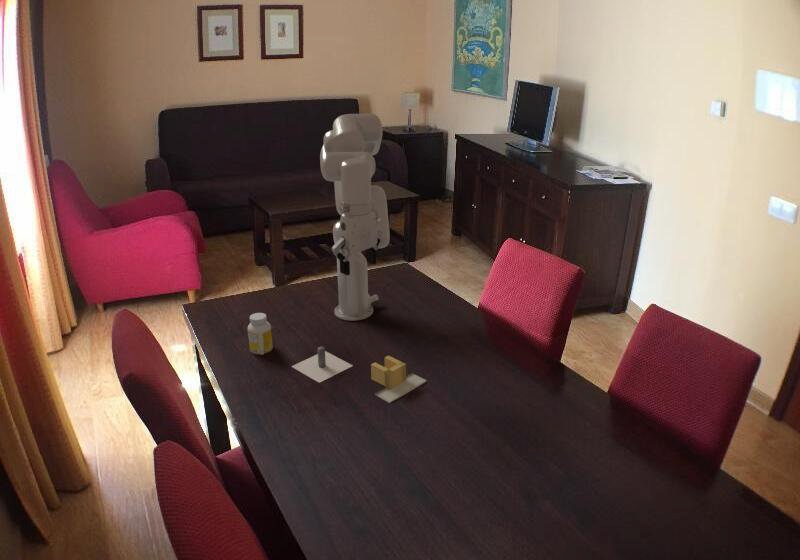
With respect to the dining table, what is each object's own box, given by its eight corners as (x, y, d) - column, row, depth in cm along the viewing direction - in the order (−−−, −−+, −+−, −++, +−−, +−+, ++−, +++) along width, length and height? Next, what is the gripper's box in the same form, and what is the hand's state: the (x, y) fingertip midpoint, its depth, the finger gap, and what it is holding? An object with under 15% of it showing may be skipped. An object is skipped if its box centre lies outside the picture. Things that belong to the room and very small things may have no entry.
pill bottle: (275, 347, 188) (272, 311, 184) (269, 358, 182) (266, 321, 178) (254, 346, 189) (250, 310, 184) (247, 357, 183) (243, 320, 178)
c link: (405, 380, 171) (406, 364, 169) (388, 390, 166) (388, 373, 164) (388, 371, 175) (388, 355, 173) (371, 380, 170) (370, 364, 168)
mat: (389, 363, 180) (389, 361, 180) (426, 381, 171) (426, 380, 171) (351, 382, 170) (351, 381, 170) (389, 403, 161) (389, 401, 161)
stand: (325, 353, 185) (323, 333, 182) (353, 368, 177) (352, 348, 174) (291, 369, 177) (289, 348, 174) (319, 385, 169) (318, 364, 166)
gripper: (341, 219, 157) (343, 282, 164) (390, 203, 169) (390, 263, 176) (321, 212, 162) (324, 274, 169) (370, 197, 173) (371, 255, 180)
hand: (358, 268), depth 172 cm, fingers open, 9 cm apart
